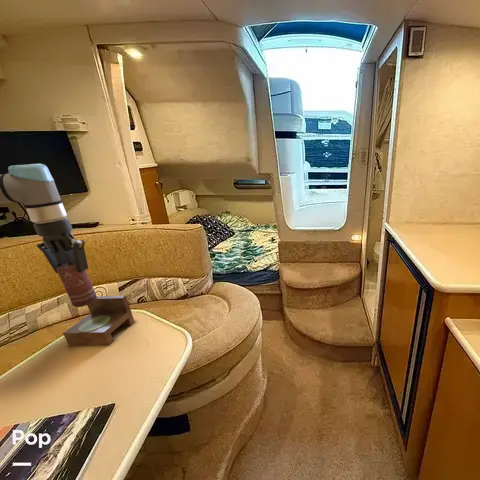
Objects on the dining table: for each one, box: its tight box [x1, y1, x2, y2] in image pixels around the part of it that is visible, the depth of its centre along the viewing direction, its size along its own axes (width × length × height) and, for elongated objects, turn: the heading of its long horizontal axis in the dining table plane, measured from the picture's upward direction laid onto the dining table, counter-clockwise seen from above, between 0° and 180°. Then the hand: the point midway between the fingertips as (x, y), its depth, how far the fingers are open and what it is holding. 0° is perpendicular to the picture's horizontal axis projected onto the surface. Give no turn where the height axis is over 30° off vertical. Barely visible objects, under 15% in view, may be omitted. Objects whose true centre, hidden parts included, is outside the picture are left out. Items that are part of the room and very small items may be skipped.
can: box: [57, 263, 98, 308], centre depth 83 cm, size 6×6×14 cm
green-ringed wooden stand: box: [62, 295, 136, 347], centre depth 91 cm, size 14×12×12 cm
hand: (81, 291), depth 85 cm, fingers closed on can
